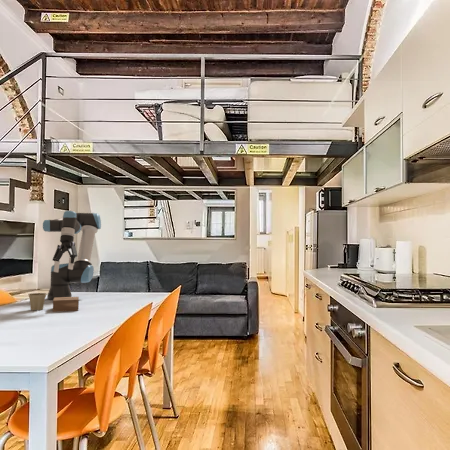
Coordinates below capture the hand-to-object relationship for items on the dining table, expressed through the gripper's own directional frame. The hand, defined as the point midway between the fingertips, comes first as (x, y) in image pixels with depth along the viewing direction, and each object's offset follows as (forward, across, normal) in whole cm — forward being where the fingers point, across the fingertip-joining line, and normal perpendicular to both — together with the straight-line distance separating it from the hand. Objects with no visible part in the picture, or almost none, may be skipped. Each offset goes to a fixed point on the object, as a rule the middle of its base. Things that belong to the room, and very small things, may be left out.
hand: (63, 270), depth 233 cm
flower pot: (+23, -6, -9) cm, 26 cm away
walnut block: (+23, +6, +1) cm, 23 cm away
